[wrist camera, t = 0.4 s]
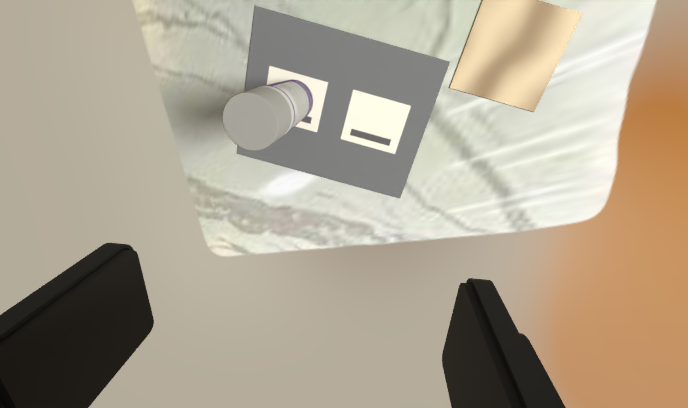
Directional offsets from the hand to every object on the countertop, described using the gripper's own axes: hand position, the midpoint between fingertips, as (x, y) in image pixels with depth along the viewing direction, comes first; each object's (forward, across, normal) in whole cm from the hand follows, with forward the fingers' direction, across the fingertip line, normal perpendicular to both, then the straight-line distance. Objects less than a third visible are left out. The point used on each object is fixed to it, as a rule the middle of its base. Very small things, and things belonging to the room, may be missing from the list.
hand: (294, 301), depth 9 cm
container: (+33, +8, -2) cm, 34 cm away
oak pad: (+33, -16, -8) cm, 37 cm away
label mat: (+33, +3, 0) cm, 33 cm away
